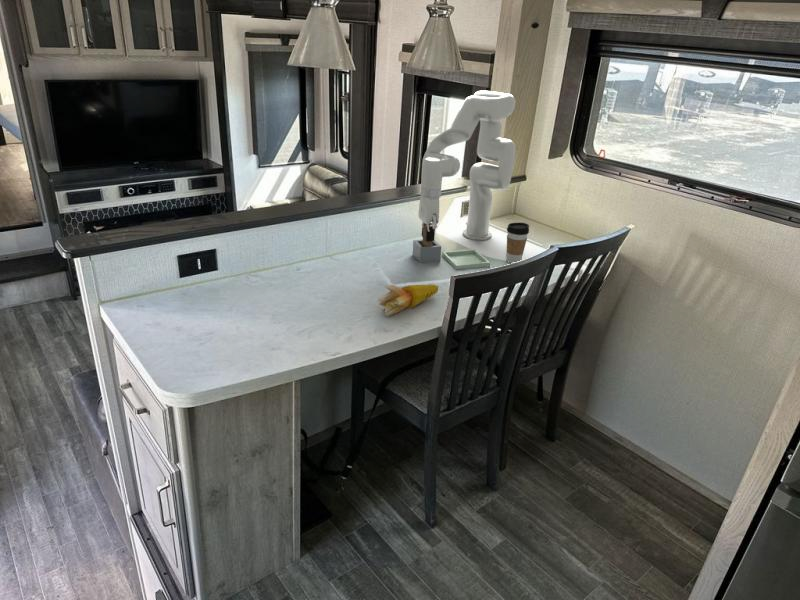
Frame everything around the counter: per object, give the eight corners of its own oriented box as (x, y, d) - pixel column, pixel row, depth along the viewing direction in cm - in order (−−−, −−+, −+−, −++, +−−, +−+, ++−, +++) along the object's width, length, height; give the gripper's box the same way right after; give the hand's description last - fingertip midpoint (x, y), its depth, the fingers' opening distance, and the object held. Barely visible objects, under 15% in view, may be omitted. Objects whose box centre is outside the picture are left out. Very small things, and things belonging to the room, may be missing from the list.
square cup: (412, 257, 227) (413, 240, 224) (432, 255, 229) (433, 238, 226) (419, 265, 220) (420, 248, 217) (440, 263, 222) (441, 246, 219)
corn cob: (435, 307, 197) (381, 321, 179) (422, 290, 200) (368, 302, 182) (447, 291, 191) (393, 304, 174) (433, 274, 195) (379, 285, 177)
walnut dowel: (420, 254, 225) (421, 225, 220) (429, 253, 226) (431, 224, 221) (423, 258, 222) (425, 228, 216) (433, 257, 223) (435, 228, 217)
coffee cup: (526, 265, 224) (531, 228, 217) (504, 264, 224) (509, 227, 217) (522, 257, 232) (527, 221, 225) (501, 256, 232) (506, 220, 225)
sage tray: (441, 257, 227) (442, 251, 226) (474, 255, 232) (474, 249, 230) (455, 271, 216) (456, 265, 214) (489, 268, 220) (490, 262, 219)
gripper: (413, 186, 218) (411, 232, 227) (429, 199, 204) (426, 247, 213) (432, 185, 221) (429, 230, 229) (448, 198, 207) (445, 245, 215)
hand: (427, 238), depth 221 cm, fingers closed on walnut dowel, 4 cm apart
